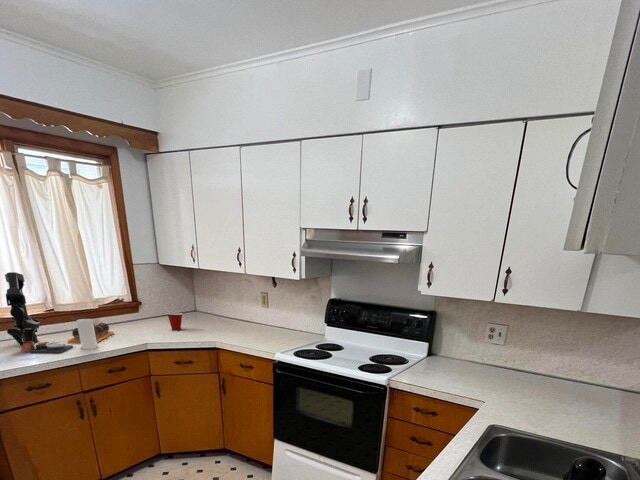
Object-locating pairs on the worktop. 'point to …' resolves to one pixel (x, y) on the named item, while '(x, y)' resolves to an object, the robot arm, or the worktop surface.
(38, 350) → the scale
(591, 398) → the worktop surface
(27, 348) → the bowl
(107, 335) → the brown piece
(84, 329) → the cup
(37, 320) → the robot arm
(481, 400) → the worktop surface
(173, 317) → the plastic cup
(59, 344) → the scale pan
